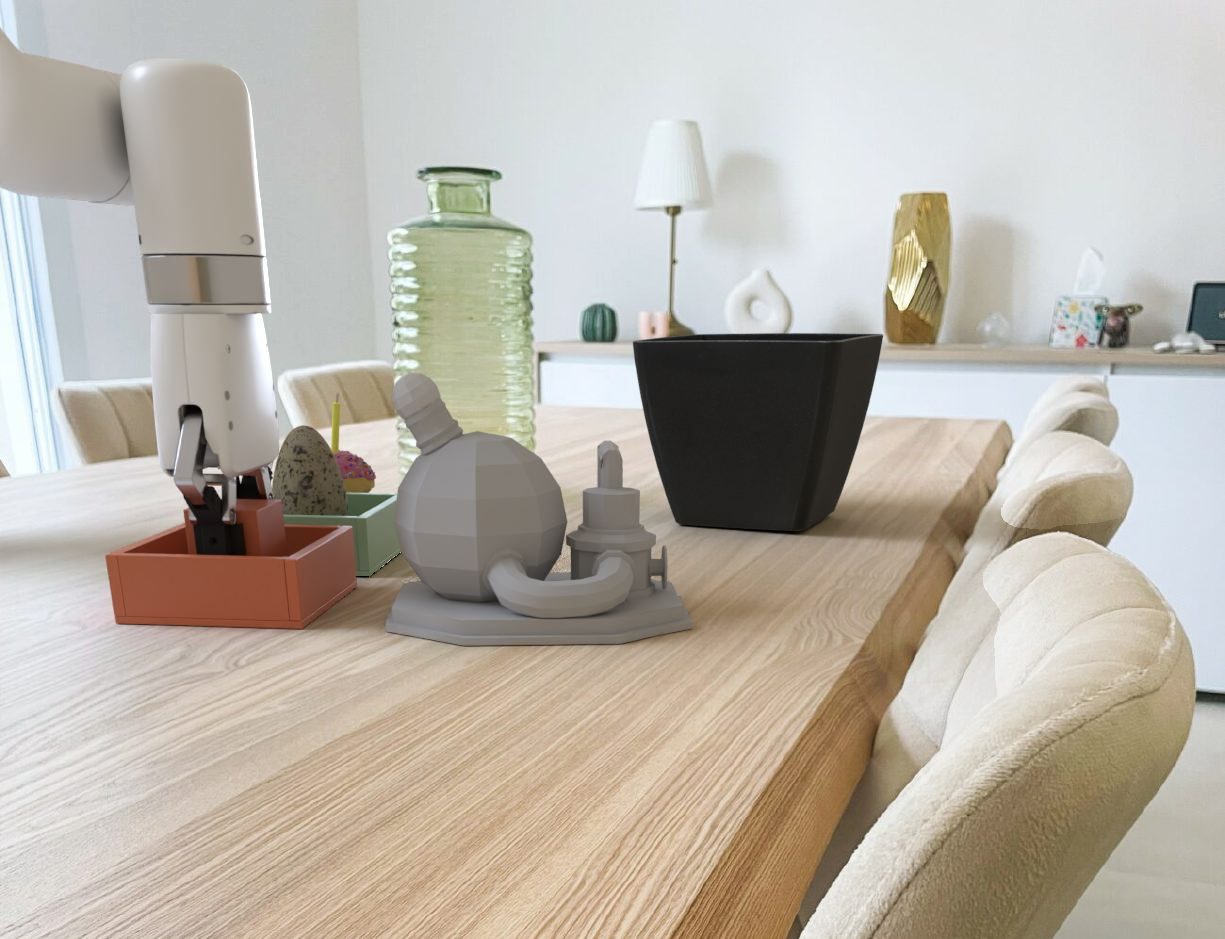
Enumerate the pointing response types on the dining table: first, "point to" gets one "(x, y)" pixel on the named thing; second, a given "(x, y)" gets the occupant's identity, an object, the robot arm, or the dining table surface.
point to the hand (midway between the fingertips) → (240, 572)
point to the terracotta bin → (232, 581)
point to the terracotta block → (254, 527)
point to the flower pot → (755, 423)
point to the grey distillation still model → (518, 543)
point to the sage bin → (364, 528)
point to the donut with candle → (350, 461)
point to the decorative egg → (308, 476)
